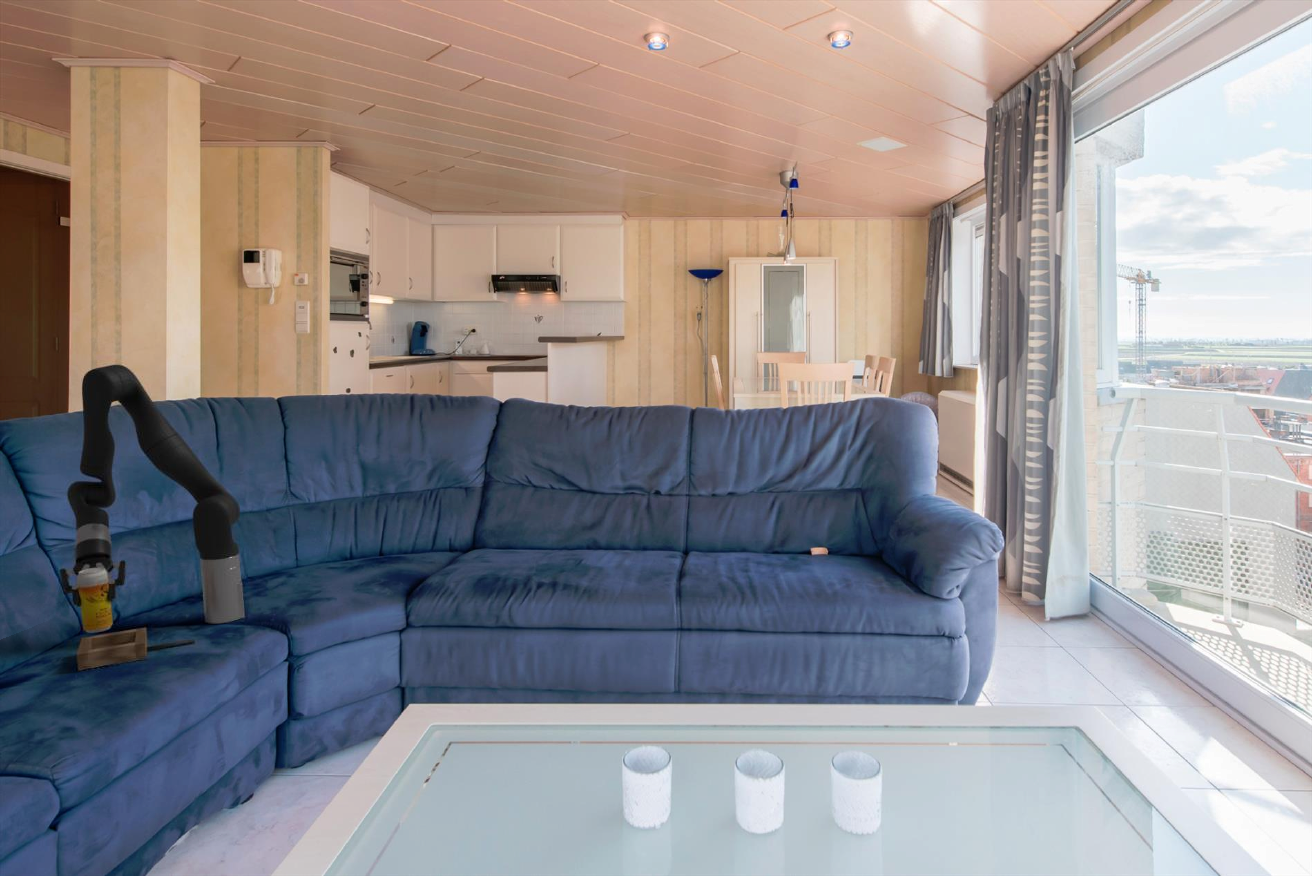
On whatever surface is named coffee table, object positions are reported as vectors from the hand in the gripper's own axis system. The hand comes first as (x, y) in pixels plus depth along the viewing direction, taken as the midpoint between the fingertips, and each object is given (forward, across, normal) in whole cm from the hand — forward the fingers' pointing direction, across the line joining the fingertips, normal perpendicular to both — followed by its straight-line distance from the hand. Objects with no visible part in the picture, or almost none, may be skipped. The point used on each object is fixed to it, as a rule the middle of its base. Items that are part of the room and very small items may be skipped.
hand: (94, 602), depth 200 cm
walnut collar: (+16, +9, -1) cm, 19 cm away
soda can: (+4, 0, +6) cm, 8 cm away
